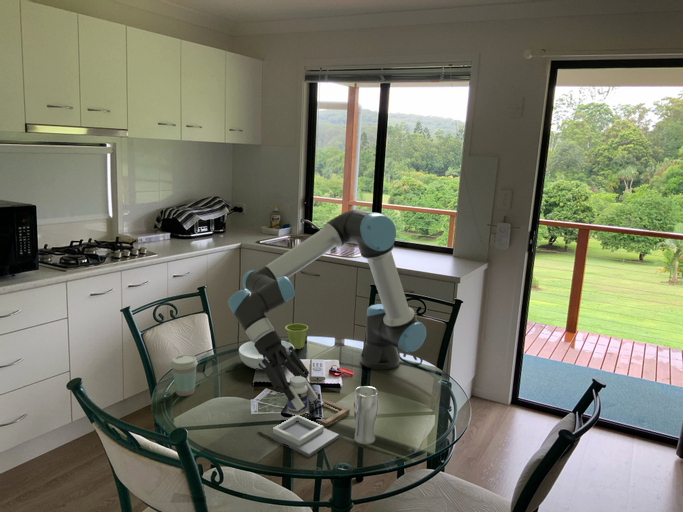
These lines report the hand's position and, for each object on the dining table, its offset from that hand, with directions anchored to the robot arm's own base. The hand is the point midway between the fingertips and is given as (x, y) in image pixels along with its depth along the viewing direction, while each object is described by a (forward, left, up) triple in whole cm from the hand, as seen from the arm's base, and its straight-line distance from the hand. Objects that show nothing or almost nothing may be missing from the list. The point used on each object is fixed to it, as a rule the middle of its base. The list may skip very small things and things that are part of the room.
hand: (307, 404), depth 153 cm
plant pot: (-50, -51, -11) cm, 72 cm away
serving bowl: (-29, -47, -11) cm, 56 cm away
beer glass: (-11, +13, -11) cm, 20 cm away
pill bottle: (0, -4, -4) cm, 5 cm away
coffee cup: (+5, -51, -11) cm, 52 cm away
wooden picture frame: (-14, -6, -11) cm, 19 cm away
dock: (0, -4, -11) cm, 11 cm away
